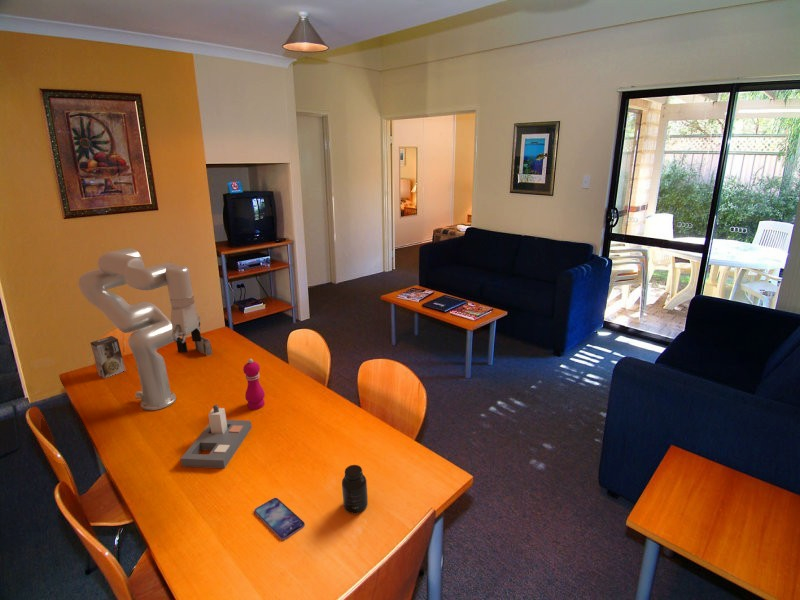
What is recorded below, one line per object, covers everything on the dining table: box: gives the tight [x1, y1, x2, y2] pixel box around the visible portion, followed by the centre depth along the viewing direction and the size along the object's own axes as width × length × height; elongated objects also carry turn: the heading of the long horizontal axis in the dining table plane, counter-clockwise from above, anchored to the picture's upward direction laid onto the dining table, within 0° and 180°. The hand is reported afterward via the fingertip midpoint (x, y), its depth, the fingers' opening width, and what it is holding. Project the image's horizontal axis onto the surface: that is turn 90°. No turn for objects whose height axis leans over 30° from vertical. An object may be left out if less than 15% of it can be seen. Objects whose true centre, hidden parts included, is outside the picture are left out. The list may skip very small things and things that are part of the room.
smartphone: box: [254, 497, 306, 541], centre depth 125 cm, size 7×1×15 cm
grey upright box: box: [194, 335, 213, 356], centre depth 227 cm, size 11×3×10 cm, turn 49°
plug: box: [208, 404, 228, 434], centre depth 160 cm, size 4×4×12 cm
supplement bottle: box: [341, 464, 369, 514], centre depth 128 cm, size 7×7×12 cm
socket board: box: [180, 419, 252, 469], centre depth 156 cm, size 14×22×3 cm, turn 175°
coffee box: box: [90, 335, 126, 379], centre depth 206 cm, size 9×6×16 cm
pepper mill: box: [242, 358, 266, 410], centre depth 177 cm, size 7×7×20 cm
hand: (190, 346), depth 166 cm, fingers open, 9 cm apart
